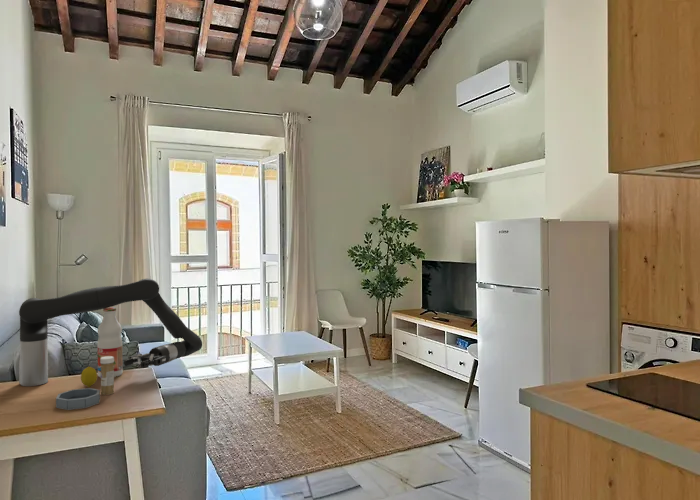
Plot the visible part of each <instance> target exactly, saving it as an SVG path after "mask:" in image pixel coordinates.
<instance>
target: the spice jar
mask: <svg viewBox="0 0 700 500" xmlns="http://www.w3.org/2000/svg"><path fill="white" fill-rule="evenodd" d="M100 363H101V377H100V395H102V396H108V395H113V394H114V393H115V390H114V388H115V387H114V384H115V377H114V357H113V356H105V357H101V358H100Z"/></svg>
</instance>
